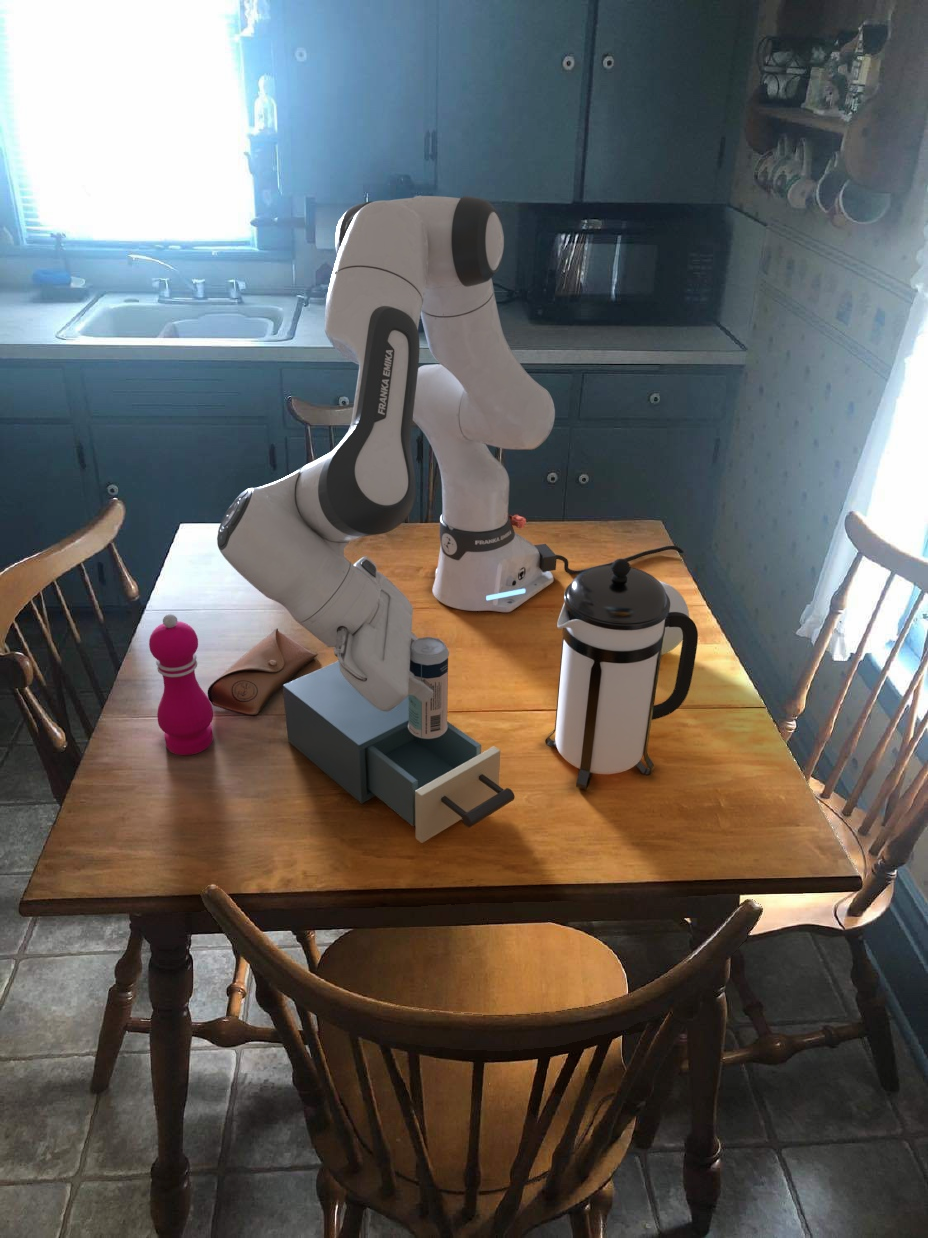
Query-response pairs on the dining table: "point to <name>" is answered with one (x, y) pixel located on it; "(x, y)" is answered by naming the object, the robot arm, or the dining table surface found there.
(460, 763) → the drawer
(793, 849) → the dining table surface
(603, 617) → the coffee press
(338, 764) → the cabinet
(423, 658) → the beer can
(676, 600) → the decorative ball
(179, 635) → the pepper mill
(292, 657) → the sunglasses case
